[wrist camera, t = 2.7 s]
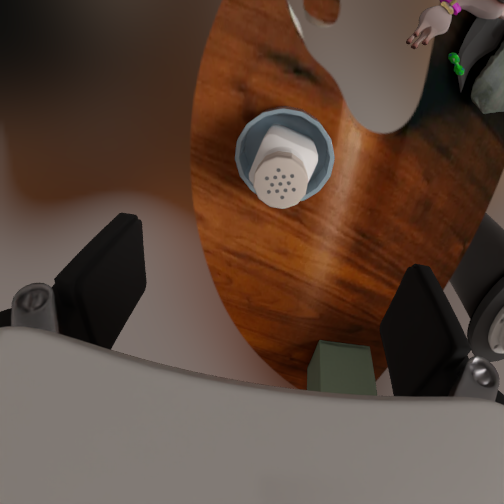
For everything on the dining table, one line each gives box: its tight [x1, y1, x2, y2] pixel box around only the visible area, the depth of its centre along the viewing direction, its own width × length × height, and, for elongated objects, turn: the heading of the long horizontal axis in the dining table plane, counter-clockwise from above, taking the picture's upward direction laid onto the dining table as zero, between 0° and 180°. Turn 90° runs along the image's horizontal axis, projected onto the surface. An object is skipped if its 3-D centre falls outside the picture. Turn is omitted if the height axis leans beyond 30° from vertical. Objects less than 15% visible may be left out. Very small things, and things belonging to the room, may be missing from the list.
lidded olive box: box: [307, 340, 377, 396], centre depth 34 cm, size 7×6×10 cm
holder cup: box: [235, 106, 335, 201], centre depth 24 cm, size 8×8×3 cm
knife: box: [458, 17, 504, 92], centre depth 13 cm, size 25×2×5 cm
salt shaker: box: [249, 124, 318, 209], centre depth 21 cm, size 4×4×10 cm
